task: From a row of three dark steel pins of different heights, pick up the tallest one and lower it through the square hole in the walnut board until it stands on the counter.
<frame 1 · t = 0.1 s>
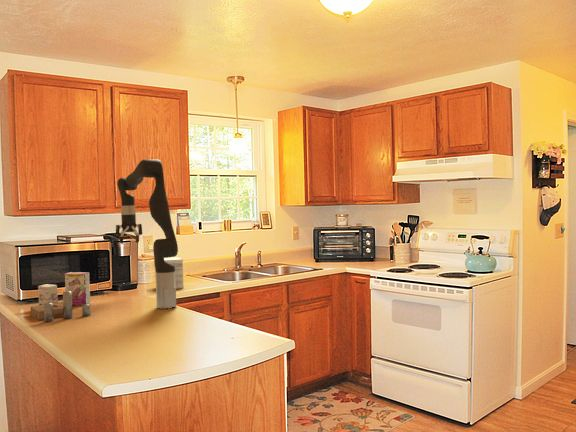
hand: (129, 243, 281), 29 cm above the countertop, tool pointing down, fingers open, 8 cm apart
medium pin: (48, 321, 222), on the countertop
hole board: (51, 315, 235), on the countertop
short pin: (86, 315, 232), on the countertop
supplement box: (170, 288, 307), on the countertop
long pin: (68, 318, 227), on the countertop
candy bar box: (78, 305, 260), on the countertop
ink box: (48, 309, 251), on the countertop
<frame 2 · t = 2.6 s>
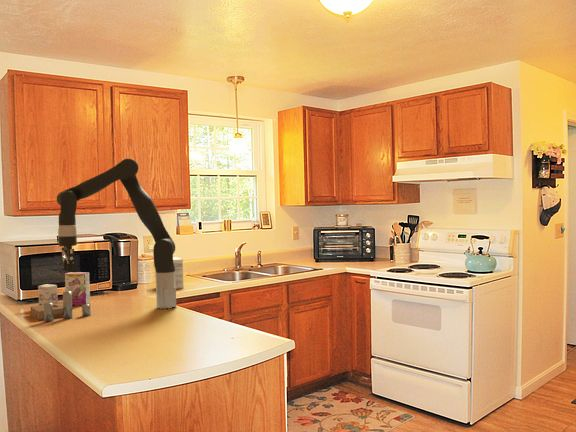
hand: (68, 271, 229), 21 cm above the countertop, tool pointing down, fingers open, 8 cm apart
nothing on the countertop moved.
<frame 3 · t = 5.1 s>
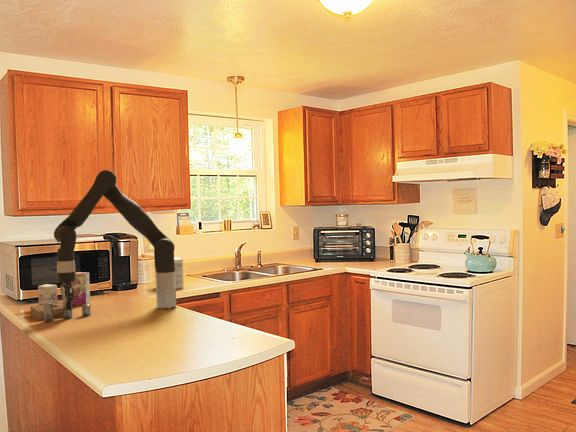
hand: (67, 309, 227), 4 cm above the countertop, tool pointing down, fingers closed on long pin, 3 cm apart
long pin: (68, 318, 227), on the countertop, touching gripper
everything else where it was.
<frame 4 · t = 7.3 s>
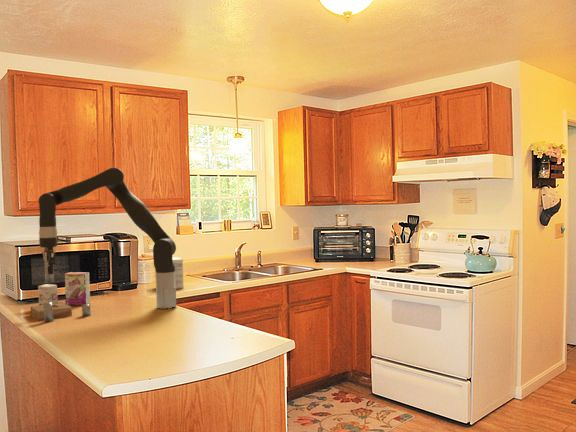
hand: (49, 273, 235), 19 cm above the countertop, tool pointing down, fingers closed on long pin, 3 cm apart
long pin: (49, 282, 235), point 15 cm above the countertop, touching gripper
everything else where it was.
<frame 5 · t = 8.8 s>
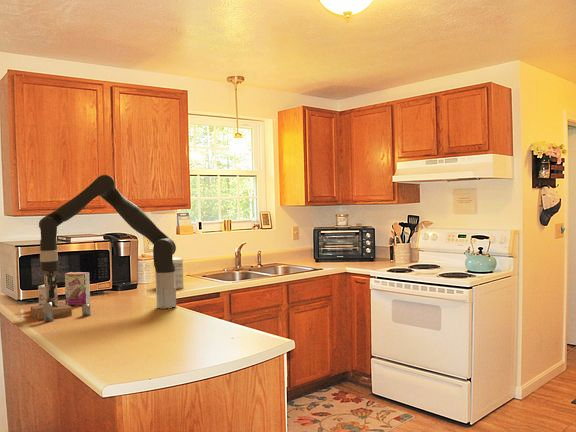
hand: (50, 297, 235), 8 cm above the countertop, tool pointing down, fingers closed on long pin, 3 cm apart
long pin: (50, 306, 235), point 4 cm above the countertop, touching gripper
everything else where it was.
when the fingers open (5 cm above the countertop, at t = 9.7 s): long pin drops 1 cm, resting in hole board.
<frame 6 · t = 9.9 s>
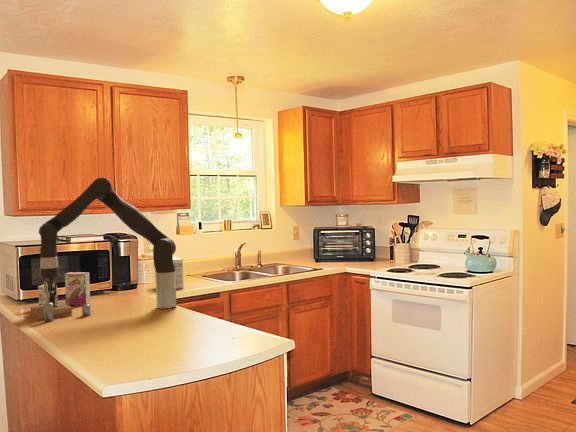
hand: (50, 303, 235), 6 cm above the countertop, tool pointing down, fingers open, 5 cm apart
long pin: (51, 315, 235), resting in hole board
everything else where it was.
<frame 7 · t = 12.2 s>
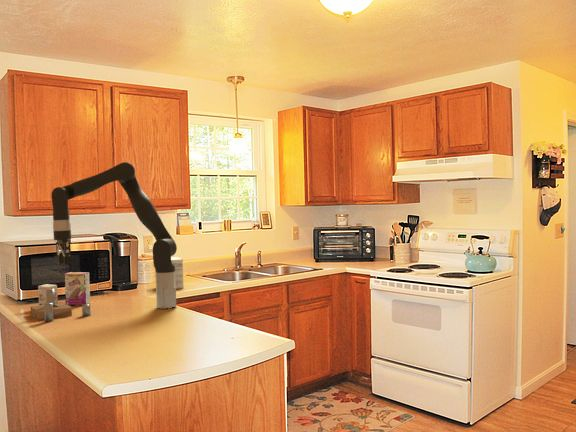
hand: (64, 264, 239), 23 cm above the countertop, tool pointing down, fingers open, 8 cm apart
nothing on the countertop moved.
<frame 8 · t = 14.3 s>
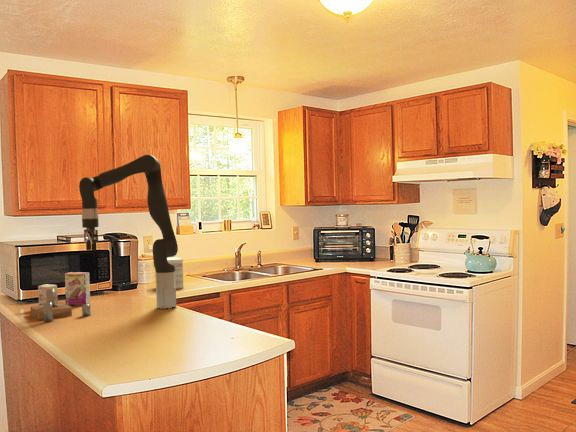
hand: (91, 250, 252), 28 cm above the countertop, tool pointing down, fingers open, 8 cm apart
nothing on the countertop moved.
at the end: long pin 0.1 cm off-centre on the hole board, point 0.0 cm above the hole board's base; long pin tilted 0°; the gripper is holding nothing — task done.
